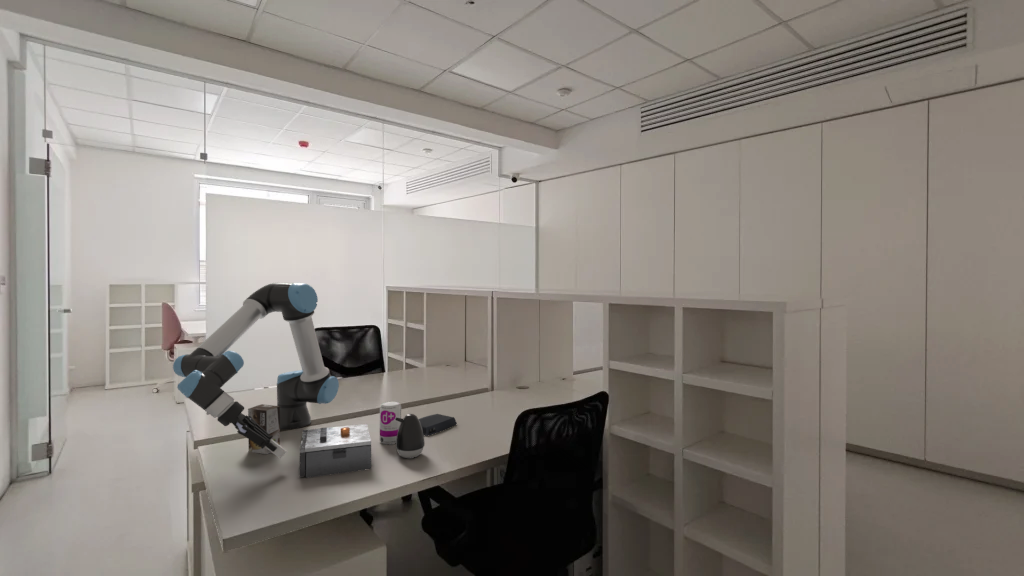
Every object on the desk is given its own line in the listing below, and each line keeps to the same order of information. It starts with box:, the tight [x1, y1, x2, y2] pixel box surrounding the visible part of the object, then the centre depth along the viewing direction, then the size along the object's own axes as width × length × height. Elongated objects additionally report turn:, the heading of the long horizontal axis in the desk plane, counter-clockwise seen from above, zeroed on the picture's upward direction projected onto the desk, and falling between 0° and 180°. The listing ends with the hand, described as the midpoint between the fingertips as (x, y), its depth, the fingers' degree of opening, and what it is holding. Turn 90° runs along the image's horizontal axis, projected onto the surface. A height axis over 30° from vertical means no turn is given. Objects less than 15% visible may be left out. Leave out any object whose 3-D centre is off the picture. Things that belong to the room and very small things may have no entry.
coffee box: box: [247, 404, 281, 455], centre depth 172 cm, size 9×6×16 cm
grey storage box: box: [305, 444, 372, 478], centre depth 161 cm, size 20×24×8 cm
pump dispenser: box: [395, 413, 426, 459], centre depth 168 cm, size 10×10×15 cm
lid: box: [299, 423, 372, 478], centre depth 161 cm, size 22×20×11 cm
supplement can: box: [379, 400, 402, 445], centre depth 183 cm, size 8×8×15 cm
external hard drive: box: [418, 413, 458, 437], centre depth 201 cm, size 13×19×4 cm
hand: (283, 454), depth 155 cm, fingers closed
